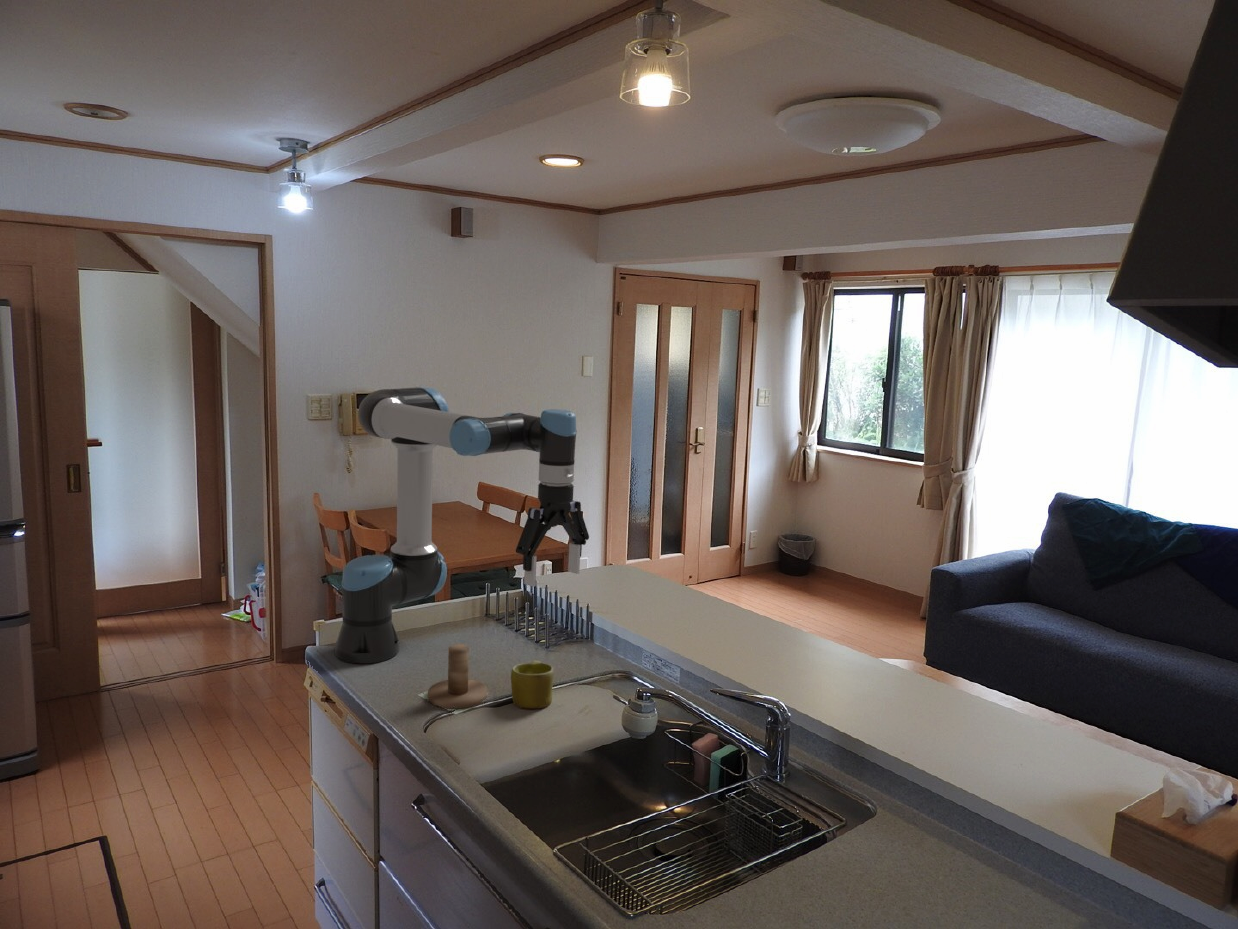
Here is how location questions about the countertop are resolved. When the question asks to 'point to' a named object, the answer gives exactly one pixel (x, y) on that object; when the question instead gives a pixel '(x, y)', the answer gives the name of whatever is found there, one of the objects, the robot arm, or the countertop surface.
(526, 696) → the mug
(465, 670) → the wooden peg stand
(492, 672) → the countertop surface
